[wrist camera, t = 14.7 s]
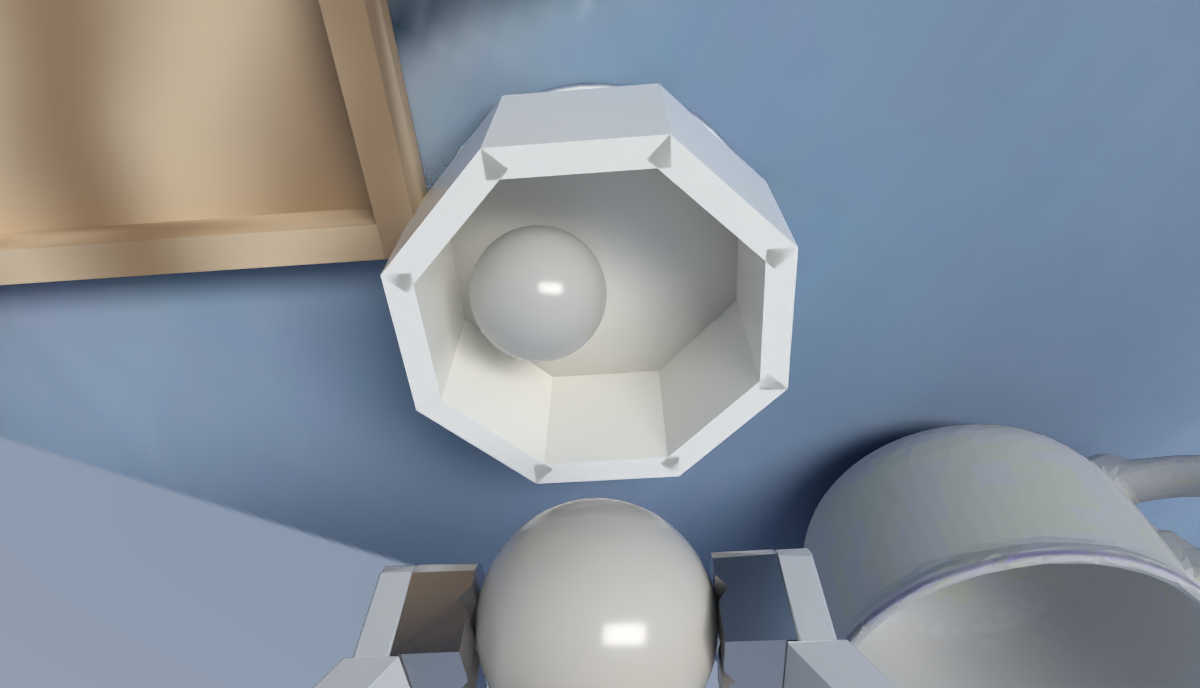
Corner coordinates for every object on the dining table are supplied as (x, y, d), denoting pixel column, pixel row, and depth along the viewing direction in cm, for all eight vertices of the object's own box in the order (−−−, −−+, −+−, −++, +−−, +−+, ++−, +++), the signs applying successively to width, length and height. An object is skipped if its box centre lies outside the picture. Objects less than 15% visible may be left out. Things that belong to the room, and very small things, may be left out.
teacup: (837, 625, 31) (901, 836, 25) (725, 454, 26) (766, 662, 19) (1202, 503, 27) (1397, 715, 21) (1154, 274, 22) (1391, 457, 16)
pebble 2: (509, 602, 14) (480, 810, 11) (476, 455, 12) (430, 659, 9) (705, 595, 14) (731, 805, 11) (705, 444, 12) (737, 648, 9)
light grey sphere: (556, 303, 23) (456, 353, 21) (542, 193, 21) (430, 236, 19) (638, 347, 21) (534, 407, 19) (631, 226, 19) (514, 280, 17)
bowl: (463, 389, 25) (437, 488, 21) (399, 97, 19) (348, 158, 16) (753, 372, 24) (781, 470, 20) (766, 68, 19) (807, 124, 15)
